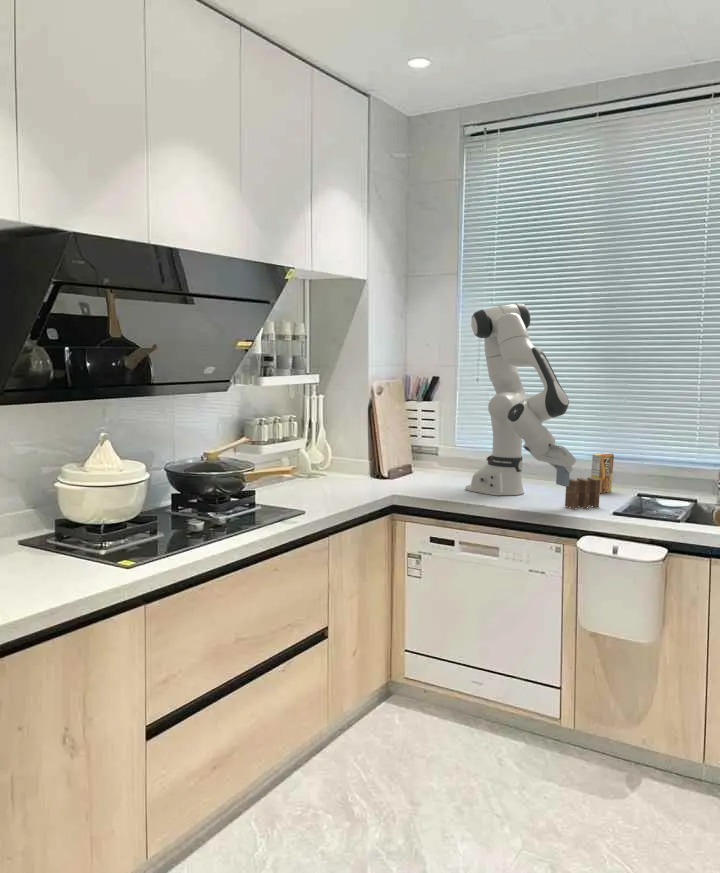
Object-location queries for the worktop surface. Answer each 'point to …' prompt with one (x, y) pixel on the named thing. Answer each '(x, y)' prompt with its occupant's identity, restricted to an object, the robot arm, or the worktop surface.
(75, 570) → the worktop surface
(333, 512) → the worktop surface
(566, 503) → the tile
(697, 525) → the worktop surface
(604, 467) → the candy box
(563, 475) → the loose tile
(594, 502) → the brown wooden block
